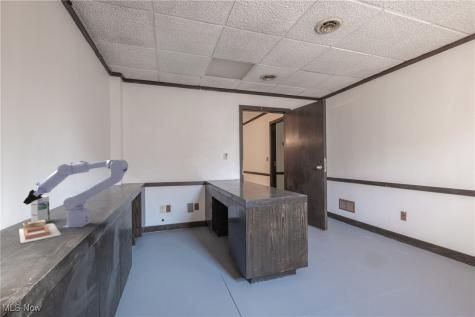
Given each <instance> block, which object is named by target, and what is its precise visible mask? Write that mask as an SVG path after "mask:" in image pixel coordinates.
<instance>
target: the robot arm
mask: <svg viewBox="0 0 475 317" xmlns="http://www.w3.org/2000/svg"><path fill="white" fill-rule="evenodd" d="M128 164H129V163H128V162H127V161H126V160H125V159H107V160H100V161H95V162H87V161H85V160H80V161H79V162H69V164H67V163H66V164H65V163H64V164H61V165H59V166H58V167H57V170H55V171H54V172H52V173H51V174H50V175H49V176H47V177H46V178H45V179H44V180H43V181H42V182H36V183H35V185H36V189H35V190H34V189H31V190H30V191H29V192H28V194H27V197H26V198H25V199H24V201H23V202H22V203H23V204H25V205H26V206H27V205H31V203H32V202H33V201H35V200H38V199H41V198H42V196H44V195H45V194H49V193H51V192H52V191H53V190H54V189H55V188H56V187H57V186H58V185H60V184H61V183H63V181H65V180H66V179H67V178H68V177H70V176H73V175H77V174H84V173H88V172H89V171H90V170H93V169H94V170H95V169H101V168H106V169H110V177H108V178H106V179H104V180H102V181H101V182H98V183H97V184H94V185H93V186H92V187H89V188H88V189H86V190H84V191H83V192H80V193H77V194H76V195H73V196H70V197H67V198H64V200H63V207H64V208H65V209H66V225H63V226H62V229H64V228H78V227H79V228H81V227H84V226H86V225H88V224H91V220H90V219H91V215H90V214H91V213H90V209H89V208H88V207H84V205H85V204H86V202H87V201H88V200H90V199H91V198H93V197H95V196H97V195H98V194H100V193H102V192H104V191H105V190H107V189H109V188H110V187H111V188H112V187H113V186H115V185H116V184H118V183H120V182H121V181H122V179H123V178H124V176H125V174H126V173H127V171H128V168H129V165H128Z"/></svg>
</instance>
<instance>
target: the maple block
mask: <svg viewBox="0 0 475 317" xmlns="http://www.w3.org/2000/svg"><path fill="white" fill-rule="evenodd" d="M46 224H47V222H46V221H45V220H40V221H34V222H31V221H29V222H23V223H22V225H23V226H22V229H23V231H24V230H26V229H32V228H37V227H42V226H46Z"/></svg>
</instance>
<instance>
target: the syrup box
mask: <svg viewBox="0 0 475 317" xmlns="http://www.w3.org/2000/svg"><path fill="white" fill-rule="evenodd" d="M41 196H42V198H41V199H38V200H35V201H33V202H32V203H30V219H31V221H30V222H34V221H40V220H45V221H46V223H47V222H51V220H50V218H51V216H50V196H49V195H41Z"/></svg>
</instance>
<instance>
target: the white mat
mask: <svg viewBox="0 0 475 317" xmlns="http://www.w3.org/2000/svg"><path fill="white" fill-rule="evenodd" d="M46 226H47V227H48V229H49V231H50V235H45V236H40V237H35V238H31V239H26V240H25V236H24V231H23V228H19V229H18V232H19V240H20V245H24V244H27V243H32V242H37V241H41V240H47V239H50V238H55V237H60V236H62V233H61V232H60V230H59V229H58V228H57V227H56V224H54V223H53V222H51V223H46ZM41 232H45V230H40V231H35V232H30V233H28V235H31V234H36V233H41Z"/></svg>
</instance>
